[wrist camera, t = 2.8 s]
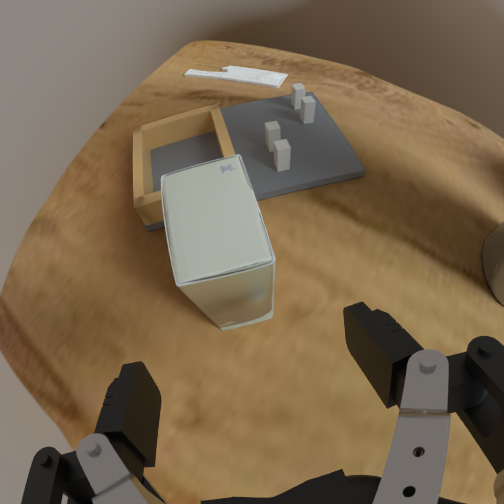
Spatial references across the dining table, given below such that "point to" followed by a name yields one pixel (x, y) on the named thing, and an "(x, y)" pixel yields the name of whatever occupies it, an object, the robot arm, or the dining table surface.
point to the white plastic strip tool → (242, 76)
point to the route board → (244, 148)
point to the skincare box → (219, 242)
